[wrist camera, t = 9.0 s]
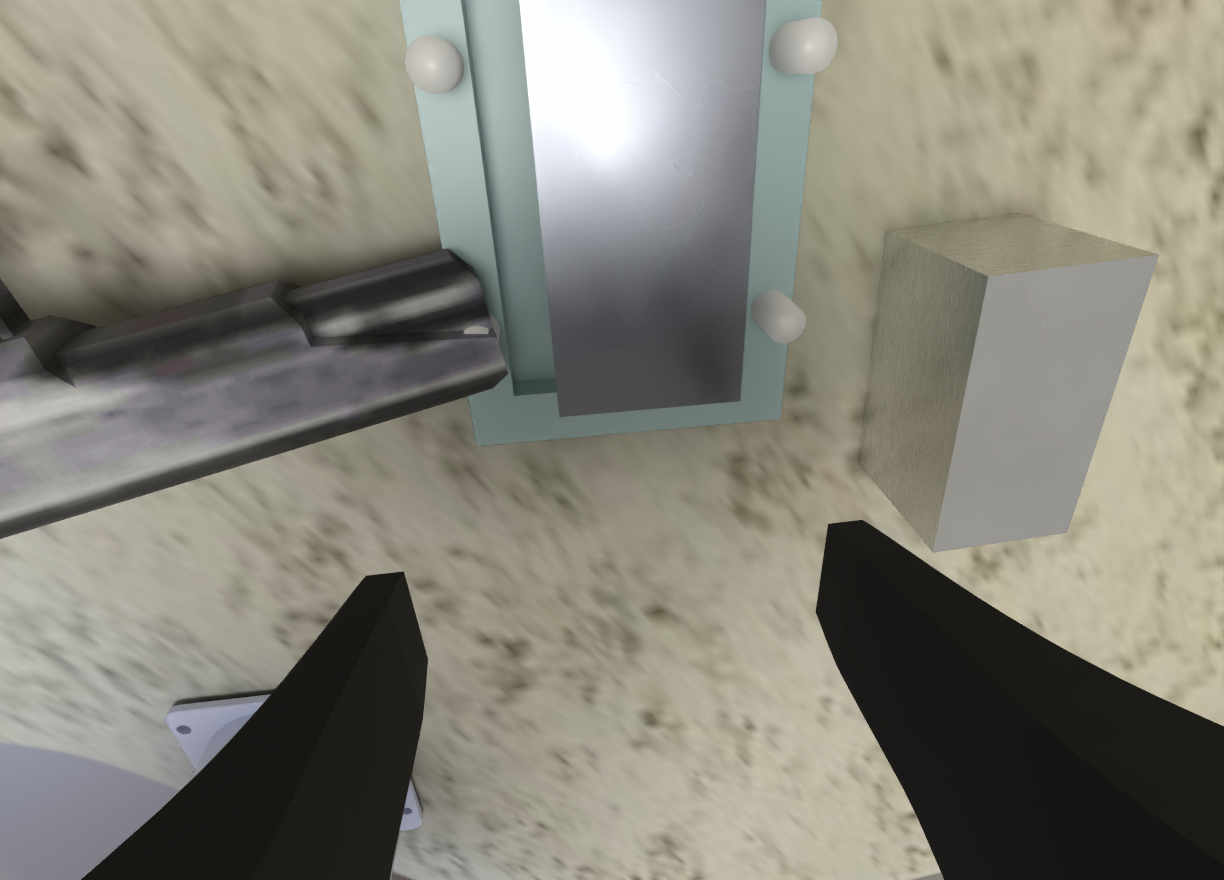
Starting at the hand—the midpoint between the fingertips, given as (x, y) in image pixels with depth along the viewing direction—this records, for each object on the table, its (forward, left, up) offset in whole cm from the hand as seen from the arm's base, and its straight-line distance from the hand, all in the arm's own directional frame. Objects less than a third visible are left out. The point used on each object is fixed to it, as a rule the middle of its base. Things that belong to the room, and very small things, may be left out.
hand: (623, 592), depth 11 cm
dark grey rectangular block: (+5, -1, -9) cm, 11 cm away
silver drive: (0, -11, -10) cm, 15 cm away
